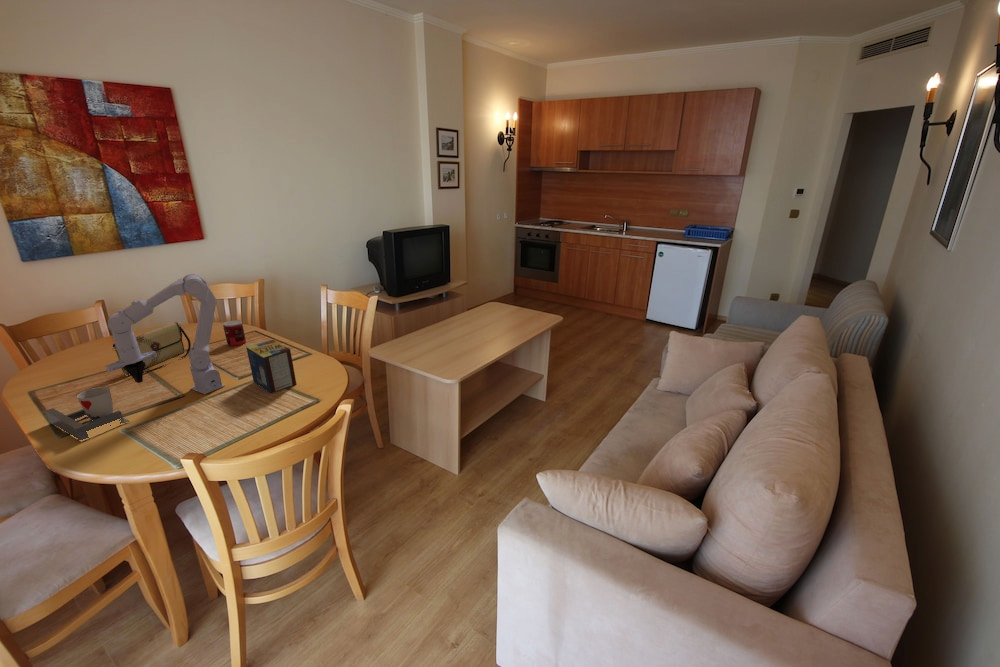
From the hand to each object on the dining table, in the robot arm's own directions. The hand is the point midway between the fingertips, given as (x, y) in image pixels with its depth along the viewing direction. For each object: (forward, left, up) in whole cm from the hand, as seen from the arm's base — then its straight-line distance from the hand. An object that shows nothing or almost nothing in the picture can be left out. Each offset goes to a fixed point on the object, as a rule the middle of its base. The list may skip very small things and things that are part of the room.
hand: (139, 381), depth 155 cm
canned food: (+24, -50, -8) cm, 56 cm away
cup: (0, +13, -8) cm, 15 cm away
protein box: (-28, -32, -9) cm, 44 cm away
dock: (0, +15, -8) cm, 17 cm away
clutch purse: (+30, -20, -9) cm, 37 cm away
